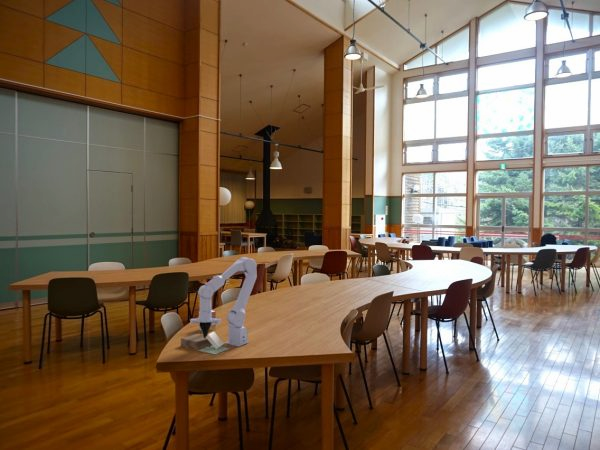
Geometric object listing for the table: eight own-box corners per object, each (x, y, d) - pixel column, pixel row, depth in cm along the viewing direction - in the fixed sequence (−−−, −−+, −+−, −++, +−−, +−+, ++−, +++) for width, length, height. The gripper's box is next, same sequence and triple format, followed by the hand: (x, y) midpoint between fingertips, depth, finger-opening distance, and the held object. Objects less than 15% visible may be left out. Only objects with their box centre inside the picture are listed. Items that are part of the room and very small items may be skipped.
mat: (229, 349, 207) (229, 348, 207) (214, 354, 199) (214, 353, 199) (214, 345, 212) (214, 344, 212) (199, 350, 204) (199, 350, 204)
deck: (212, 345, 213) (212, 337, 213) (198, 350, 205) (198, 342, 204) (195, 341, 219) (195, 333, 219) (180, 346, 211) (180, 338, 211)
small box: (202, 332, 237) (202, 313, 237) (198, 329, 241) (198, 311, 241) (215, 329, 242) (215, 311, 241) (211, 327, 246) (211, 309, 246)
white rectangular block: (221, 345, 211) (224, 343, 210) (216, 349, 205) (219, 346, 205) (211, 333, 212) (213, 331, 212) (205, 337, 206) (208, 334, 206)
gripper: (221, 308, 212) (221, 335, 213) (192, 308, 212) (192, 335, 213) (219, 311, 205) (219, 339, 206) (189, 311, 205) (189, 339, 206)
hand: (205, 337), depth 209 cm, fingers closed
